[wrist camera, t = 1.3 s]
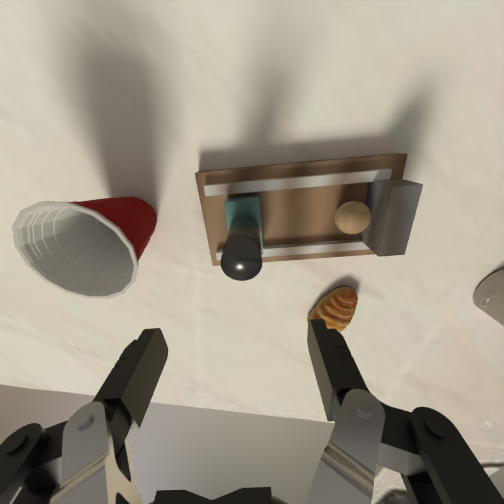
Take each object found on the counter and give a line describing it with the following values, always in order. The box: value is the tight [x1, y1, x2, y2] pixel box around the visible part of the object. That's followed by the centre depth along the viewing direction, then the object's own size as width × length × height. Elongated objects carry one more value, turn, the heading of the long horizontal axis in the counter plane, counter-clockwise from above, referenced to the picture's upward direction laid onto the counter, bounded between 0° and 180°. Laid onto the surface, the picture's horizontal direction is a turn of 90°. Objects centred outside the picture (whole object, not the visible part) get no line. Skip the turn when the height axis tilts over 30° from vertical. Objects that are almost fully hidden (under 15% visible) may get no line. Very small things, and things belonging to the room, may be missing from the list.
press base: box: [195, 153, 423, 266], centre depth 27 cm, size 25×13×7 cm, turn 95°
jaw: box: [221, 194, 263, 281], centre depth 23 cm, size 4×7×11 cm, turn 5°
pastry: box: [307, 287, 358, 333], centre depth 36 cm, size 9×7×4 cm
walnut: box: [335, 201, 371, 234], centre depth 26 cm, size 4×4×4 cm
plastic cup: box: [12, 197, 157, 299], centre depth 25 cm, size 11×11×12 cm
